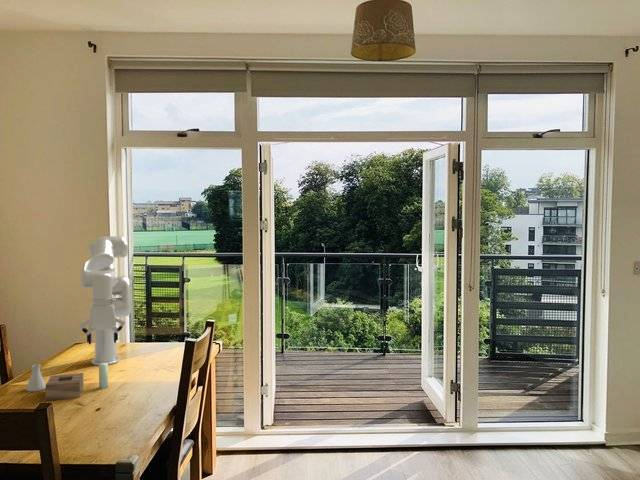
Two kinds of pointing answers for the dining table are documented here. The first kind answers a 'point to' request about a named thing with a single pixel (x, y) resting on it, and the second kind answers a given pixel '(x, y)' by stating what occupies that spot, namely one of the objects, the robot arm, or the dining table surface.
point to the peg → (103, 375)
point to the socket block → (64, 386)
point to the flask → (36, 380)
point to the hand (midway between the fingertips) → (102, 342)
